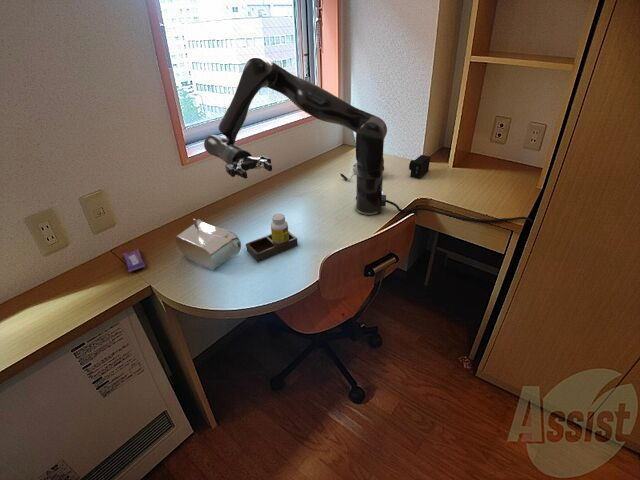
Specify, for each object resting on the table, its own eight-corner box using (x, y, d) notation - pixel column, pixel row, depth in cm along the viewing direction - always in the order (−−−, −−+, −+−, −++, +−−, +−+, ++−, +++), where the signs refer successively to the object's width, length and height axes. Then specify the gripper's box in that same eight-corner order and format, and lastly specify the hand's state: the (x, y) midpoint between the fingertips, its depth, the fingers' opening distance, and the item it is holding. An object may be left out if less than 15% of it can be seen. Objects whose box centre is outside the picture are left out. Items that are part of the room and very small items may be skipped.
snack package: (144, 263, 108) (127, 269, 106) (147, 268, 109) (129, 275, 107) (137, 246, 116) (121, 251, 114) (139, 250, 117) (123, 256, 115)
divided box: (297, 245, 116) (297, 238, 114) (257, 262, 109) (256, 254, 107) (285, 235, 121) (285, 228, 119) (246, 251, 114) (245, 243, 113)
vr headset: (244, 256, 112) (236, 216, 104) (216, 275, 105) (205, 234, 97) (206, 239, 121) (196, 201, 113) (177, 256, 114) (165, 216, 106)
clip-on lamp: (352, 191, 154) (386, 173, 158) (350, 179, 149) (385, 161, 154) (338, 179, 162) (370, 163, 166) (336, 167, 158) (369, 151, 162)
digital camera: (417, 168, 164) (418, 154, 160) (428, 171, 161) (430, 156, 158) (407, 176, 157) (409, 161, 153) (419, 179, 154) (421, 163, 151)
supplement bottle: (286, 248, 114) (284, 221, 108) (270, 246, 115) (267, 220, 109) (291, 239, 118) (288, 213, 113) (275, 237, 119) (272, 211, 114)
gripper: (215, 152, 117) (235, 166, 106) (254, 142, 124) (277, 154, 112) (219, 173, 121) (239, 189, 110) (257, 163, 128) (279, 176, 117)
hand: (258, 171), depth 111 cm, fingers open, 8 cm apart
